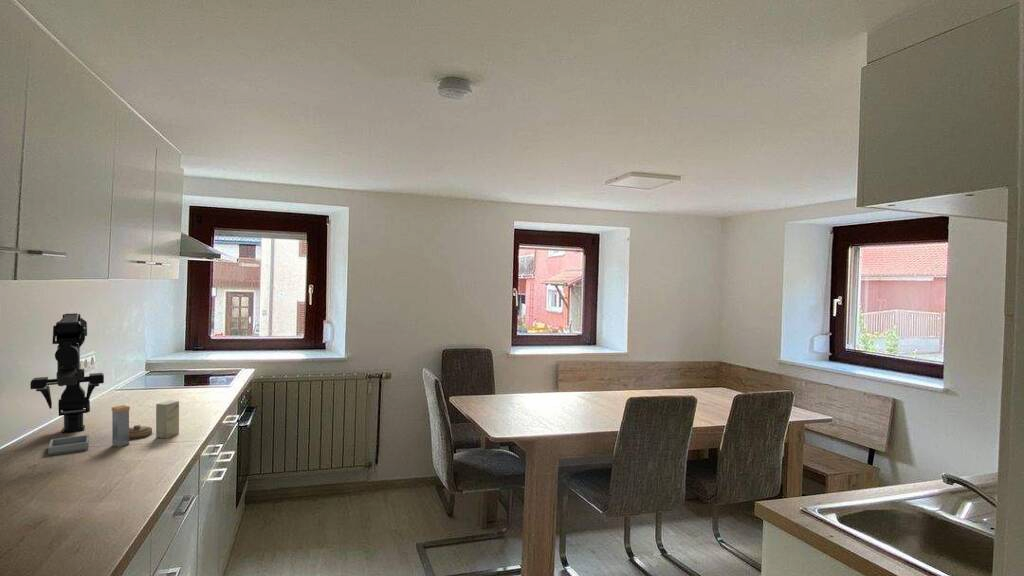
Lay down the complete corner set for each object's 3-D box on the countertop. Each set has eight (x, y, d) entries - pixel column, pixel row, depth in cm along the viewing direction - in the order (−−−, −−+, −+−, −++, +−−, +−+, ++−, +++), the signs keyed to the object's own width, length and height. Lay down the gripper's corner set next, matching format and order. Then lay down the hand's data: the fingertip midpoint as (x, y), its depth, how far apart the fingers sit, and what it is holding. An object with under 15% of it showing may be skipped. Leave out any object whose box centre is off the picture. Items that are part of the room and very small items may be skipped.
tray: (51, 446, 187) (51, 439, 187) (89, 441, 193) (89, 434, 193) (48, 455, 179) (48, 447, 179) (88, 449, 185) (88, 442, 185)
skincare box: (165, 438, 198) (165, 404, 198) (155, 437, 199) (155, 404, 199) (179, 433, 204) (179, 400, 204) (169, 432, 205) (169, 400, 205)
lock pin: (111, 445, 190) (111, 407, 189) (123, 442, 193) (123, 405, 193) (117, 447, 188) (117, 409, 187) (129, 444, 191) (129, 406, 191)
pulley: (121, 434, 202) (121, 424, 202) (151, 430, 208) (151, 421, 208) (122, 440, 195) (122, 430, 195) (152, 436, 200) (152, 426, 200)
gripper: (28, 365, 171) (28, 416, 171) (103, 360, 182) (103, 408, 182) (32, 360, 180) (32, 408, 180) (103, 356, 191) (103, 401, 191)
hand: (68, 406), depth 183 cm, fingers open, 9 cm apart
